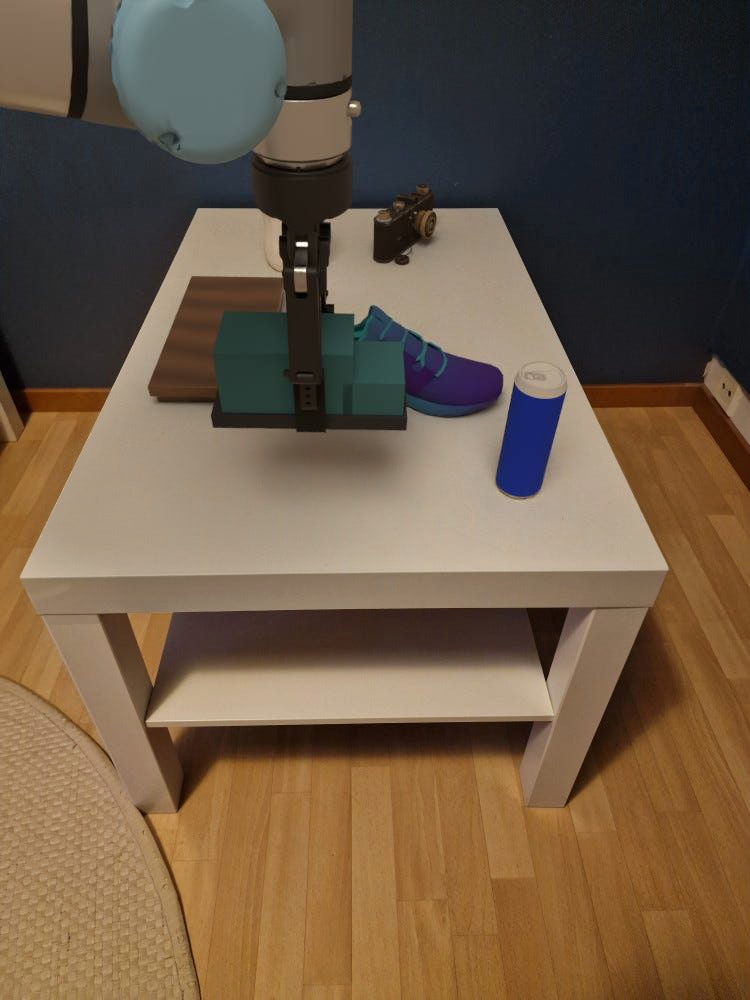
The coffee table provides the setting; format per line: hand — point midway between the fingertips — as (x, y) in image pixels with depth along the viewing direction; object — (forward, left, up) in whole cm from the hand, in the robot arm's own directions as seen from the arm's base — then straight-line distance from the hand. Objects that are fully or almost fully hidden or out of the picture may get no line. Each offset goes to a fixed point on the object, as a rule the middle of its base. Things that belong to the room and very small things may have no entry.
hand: (313, 402), depth 66 cm
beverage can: (+18, +13, -13) cm, 26 cm away
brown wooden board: (-28, +18, -13) cm, 36 cm away
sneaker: (-2, +22, -13) cm, 26 cm away
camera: (-20, +59, -13) cm, 64 cm away
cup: (-33, +44, -13) cm, 56 cm away
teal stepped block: (0, 0, 0) cm, 0 cm away
